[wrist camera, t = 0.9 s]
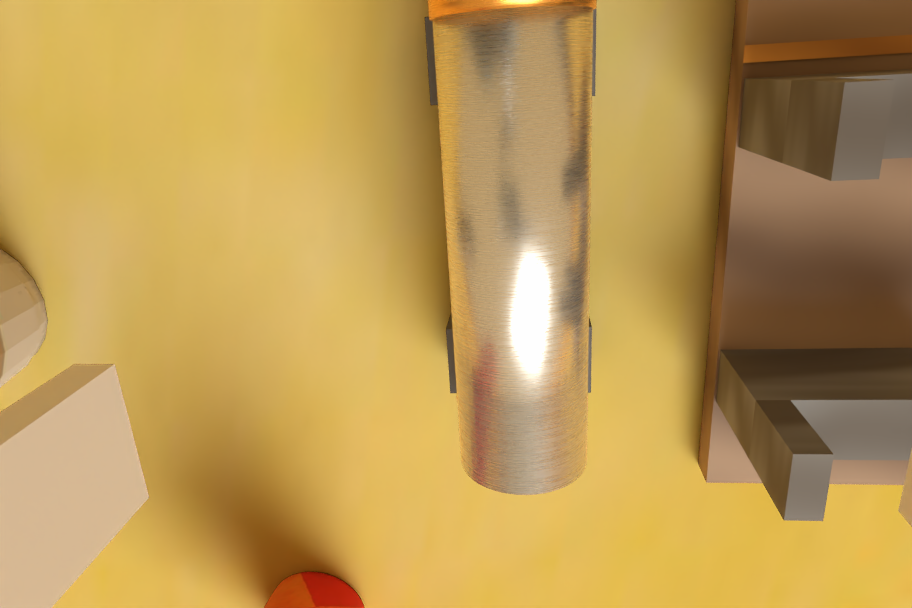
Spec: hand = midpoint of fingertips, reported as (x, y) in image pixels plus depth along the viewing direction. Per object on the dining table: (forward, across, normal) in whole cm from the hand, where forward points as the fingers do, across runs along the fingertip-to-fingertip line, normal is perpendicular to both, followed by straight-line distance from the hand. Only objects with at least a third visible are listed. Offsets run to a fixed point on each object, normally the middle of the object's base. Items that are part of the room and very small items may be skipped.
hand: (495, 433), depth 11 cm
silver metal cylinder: (+15, 0, 0) cm, 15 cm away
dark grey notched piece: (+18, +13, -2) cm, 23 cm away
